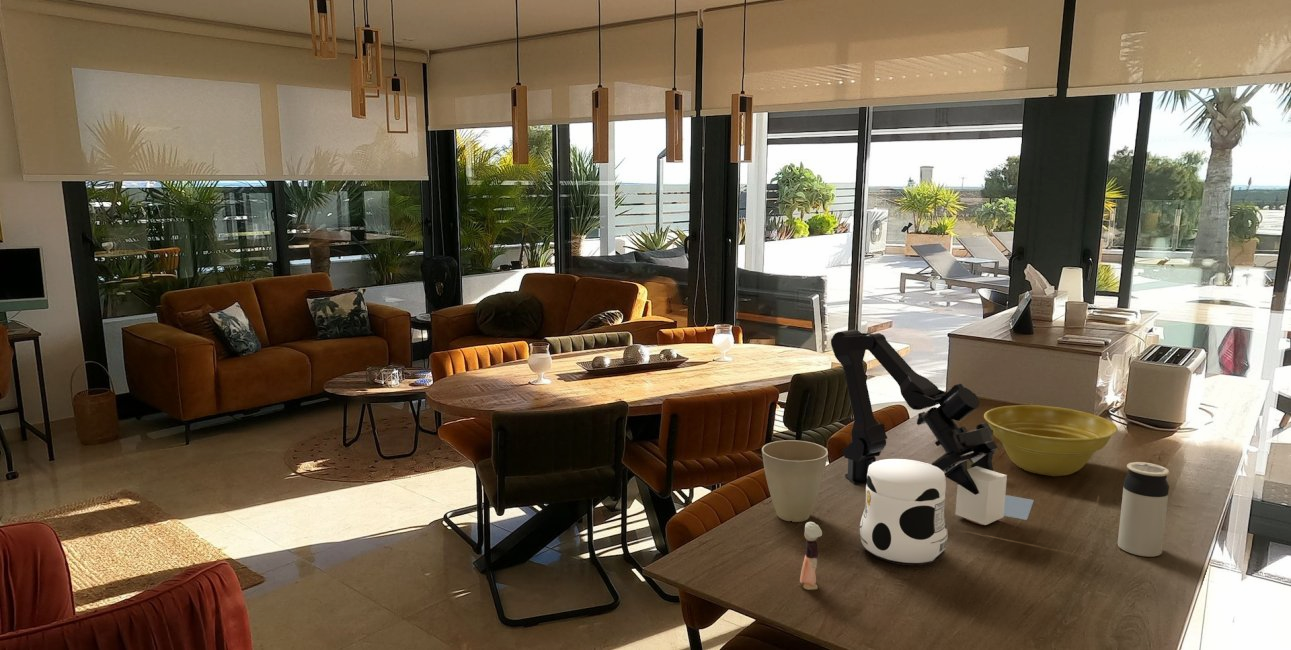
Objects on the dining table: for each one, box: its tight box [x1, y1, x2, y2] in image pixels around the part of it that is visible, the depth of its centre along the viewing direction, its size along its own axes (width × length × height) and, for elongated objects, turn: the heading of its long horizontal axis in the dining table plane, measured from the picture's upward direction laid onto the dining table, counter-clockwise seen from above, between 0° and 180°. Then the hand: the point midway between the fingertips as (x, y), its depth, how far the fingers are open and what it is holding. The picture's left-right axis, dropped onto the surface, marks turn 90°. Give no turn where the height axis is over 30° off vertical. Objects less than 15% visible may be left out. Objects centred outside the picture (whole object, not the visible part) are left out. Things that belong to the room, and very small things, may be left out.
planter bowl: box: [983, 404, 1119, 477], centre depth 220 cm, size 32×32×13 cm
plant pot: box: [761, 439, 829, 523], centre depth 188 cm, size 15×15×16 cm
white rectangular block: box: [954, 466, 1008, 526], centre depth 185 cm, size 7×7×10 cm
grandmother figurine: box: [799, 521, 823, 591], centre depth 155 cm, size 8×4×13 cm, turn 5°
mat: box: [1003, 494, 1035, 521], centre depth 195 cm, size 14×14×1 cm
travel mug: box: [1117, 461, 1170, 558], centre depth 170 cm, size 8×8×18 cm
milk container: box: [859, 458, 948, 566], centre depth 169 cm, size 17×17×18 cm
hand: (986, 490), depth 184 cm, fingers closed on white rectangular block, 7 cm apart
